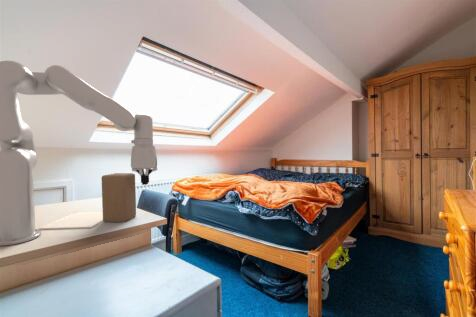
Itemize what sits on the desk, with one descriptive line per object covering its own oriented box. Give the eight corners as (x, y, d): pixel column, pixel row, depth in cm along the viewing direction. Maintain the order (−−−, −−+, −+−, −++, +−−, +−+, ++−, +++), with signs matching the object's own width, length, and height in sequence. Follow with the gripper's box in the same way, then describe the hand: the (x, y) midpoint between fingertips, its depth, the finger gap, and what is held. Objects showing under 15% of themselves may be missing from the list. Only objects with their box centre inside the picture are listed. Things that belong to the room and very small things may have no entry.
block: (137, 216, 106) (135, 173, 105) (124, 223, 96) (122, 175, 95) (116, 215, 107) (115, 172, 106) (101, 222, 97) (100, 175, 96)
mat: (38, 229, 89) (38, 228, 89) (74, 213, 111) (74, 212, 111) (92, 228, 90) (91, 226, 90) (117, 212, 112) (117, 211, 112)
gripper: (122, 142, 96) (124, 186, 97) (158, 142, 97) (160, 185, 98) (129, 143, 104) (131, 183, 105) (163, 142, 105) (164, 182, 106)
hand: (145, 184), depth 102 cm, fingers closed
